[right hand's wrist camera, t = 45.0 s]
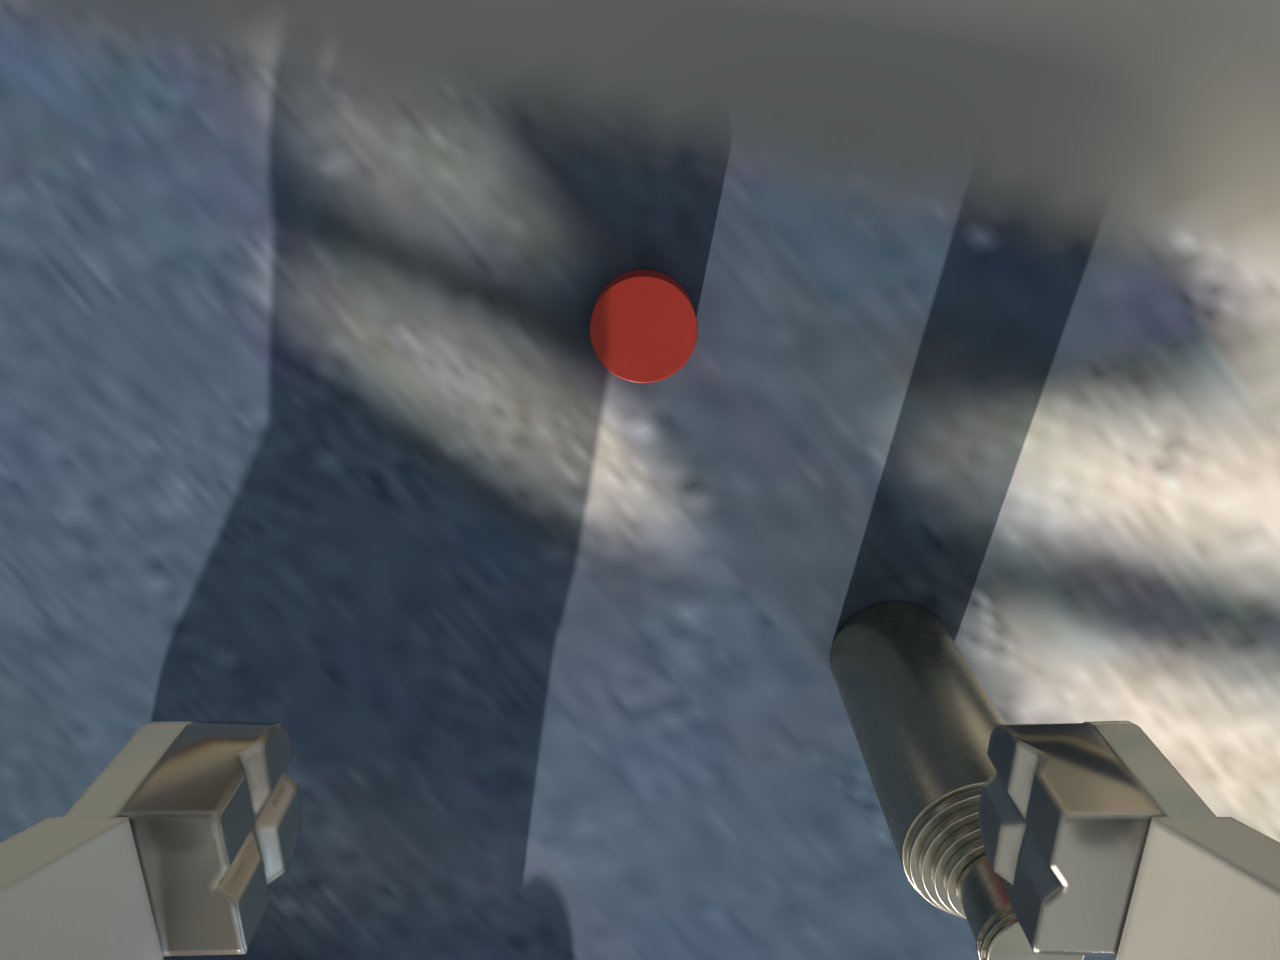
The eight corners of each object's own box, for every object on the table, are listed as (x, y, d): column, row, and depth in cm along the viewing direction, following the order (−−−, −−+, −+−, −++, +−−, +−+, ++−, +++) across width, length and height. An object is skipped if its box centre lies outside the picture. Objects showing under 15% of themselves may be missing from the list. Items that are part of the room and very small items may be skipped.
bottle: (814, 625, 41) (919, 916, 25) (932, 584, 40) (1112, 859, 25) (850, 719, 43) (968, 1043, 27) (963, 682, 42) (1149, 994, 27)
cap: (674, 384, 37) (675, 397, 35) (578, 352, 36) (575, 362, 35) (709, 289, 35) (713, 297, 34) (611, 254, 35) (610, 260, 33)
